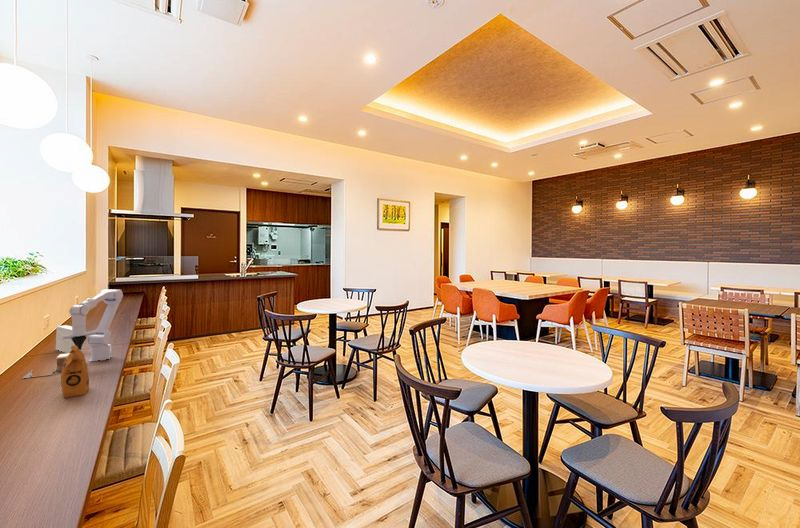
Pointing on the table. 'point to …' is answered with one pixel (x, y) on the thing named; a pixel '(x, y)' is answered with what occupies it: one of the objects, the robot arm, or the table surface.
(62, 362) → the brown and cream block
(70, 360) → the coffee package
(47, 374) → the mat
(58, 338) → the skincare box
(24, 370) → the table surface
